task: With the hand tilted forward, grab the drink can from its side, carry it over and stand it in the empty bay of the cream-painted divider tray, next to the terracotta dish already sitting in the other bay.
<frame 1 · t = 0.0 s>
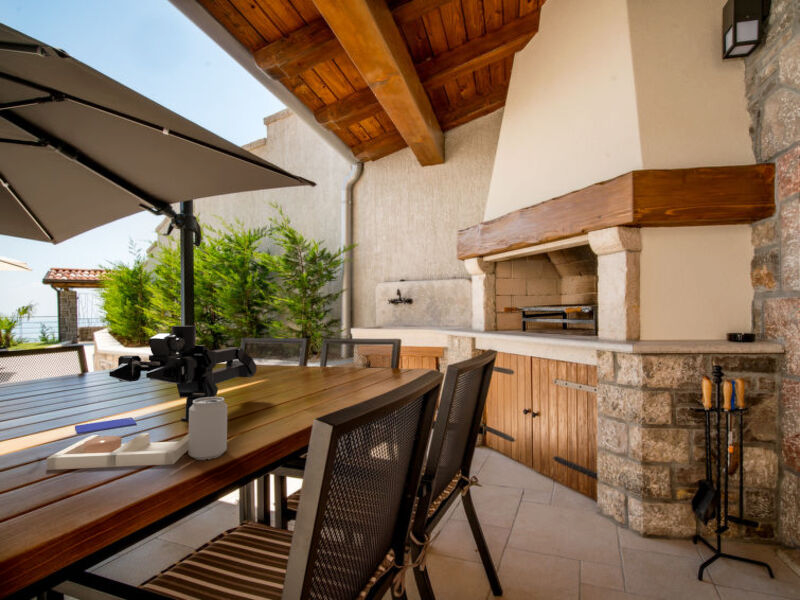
hand: (128, 374, 90), 17 cm above the table, tool horizontal, fingers open, 9 cm apart
divider tray: (129, 456, 85), on the table
terracotta dish: (102, 454, 85), resting on divider tray
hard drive: (105, 430, 105), on the table
can: (207, 455, 86), on the table
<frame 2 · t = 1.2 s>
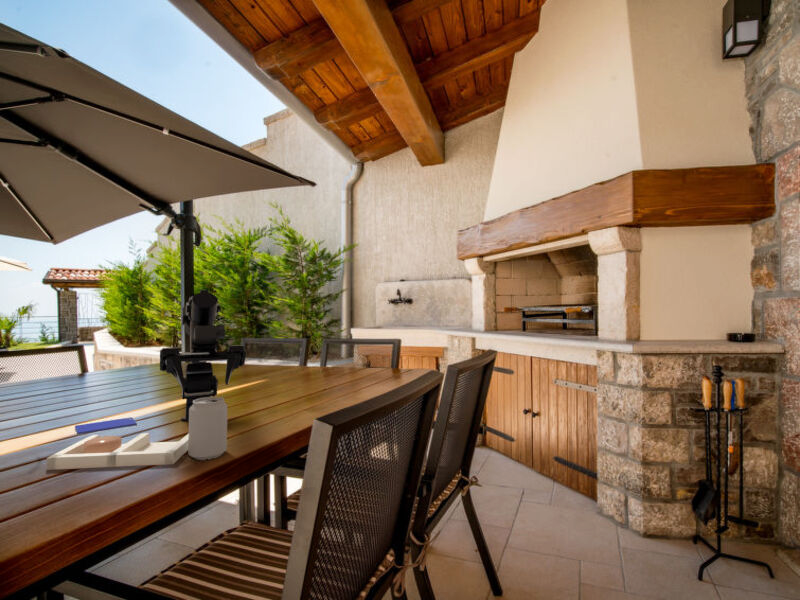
hand: (205, 385, 93), 13 cm above the table, tool tilted 45°, fingers open, 9 cm apart
nothing on the table moved.
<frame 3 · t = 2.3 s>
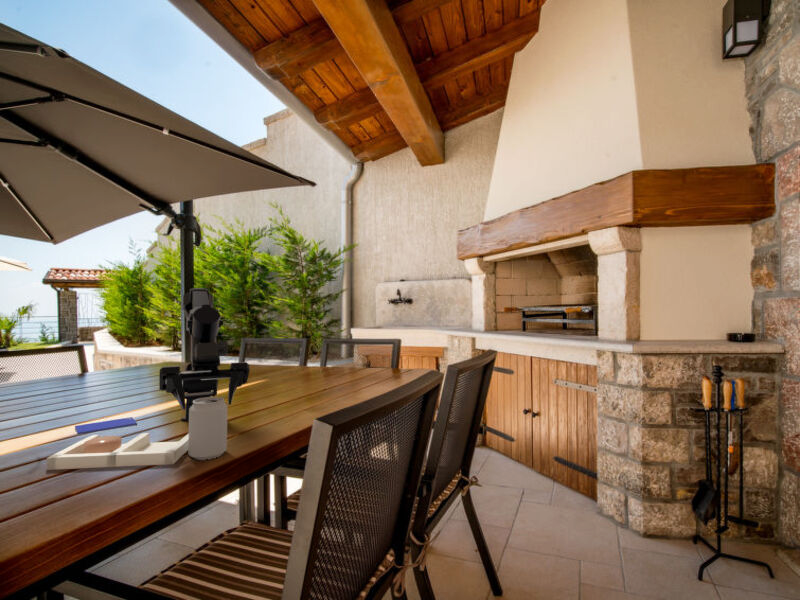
hand: (207, 406, 89), 10 cm above the table, tool tilted 45°, fingers open, 9 cm apart
nothing on the table moved.
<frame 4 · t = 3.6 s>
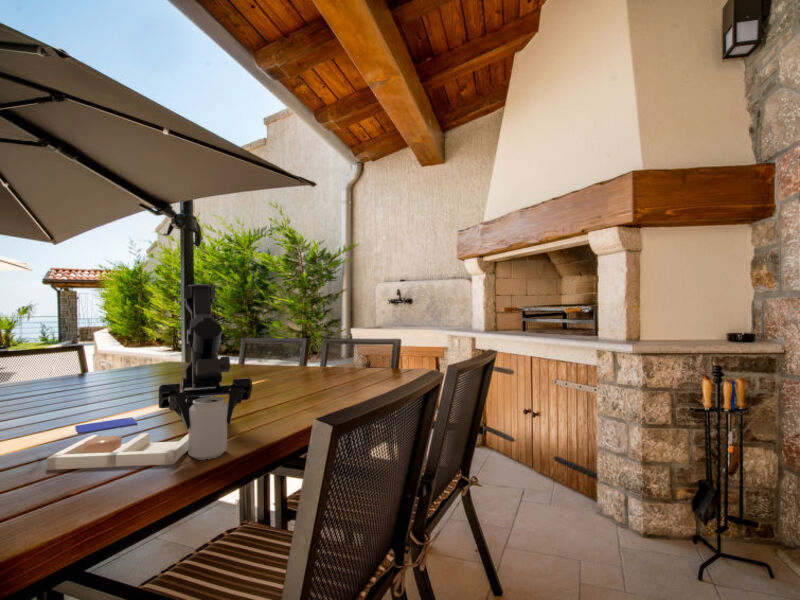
hand: (208, 425, 85), 7 cm above the table, tool tilted 45°, fingers closed on can, 7 cm apart
can: (207, 455, 86), on the table, touching gripper
everything else where it was.
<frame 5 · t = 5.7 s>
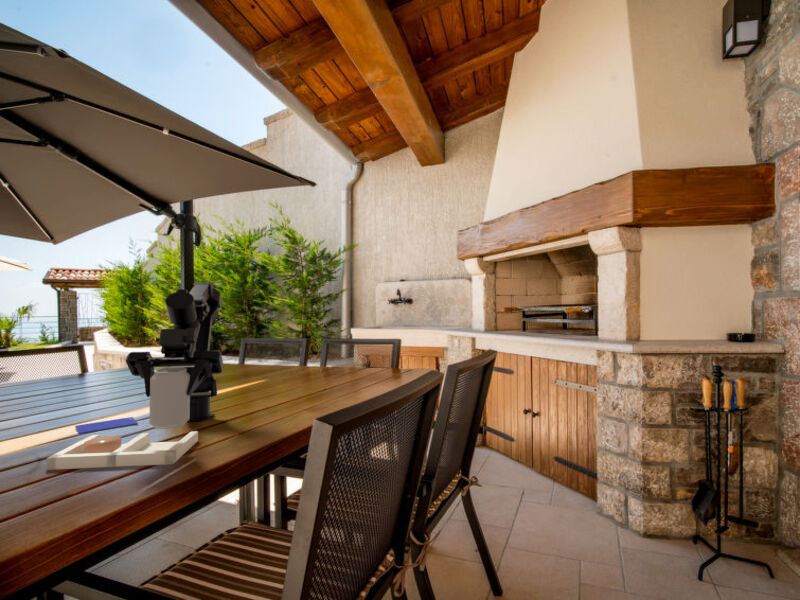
hand: (168, 395, 85), 13 cm above the table, tool tilted 45°, fingers closed on can, 7 cm apart
can: (169, 425, 86), point 6 cm above the table, touching gripper
everything else where it was.
when the fingers open (8 cm above the table, at t = 7.8 s): can stays where it is, resting on divider tray.
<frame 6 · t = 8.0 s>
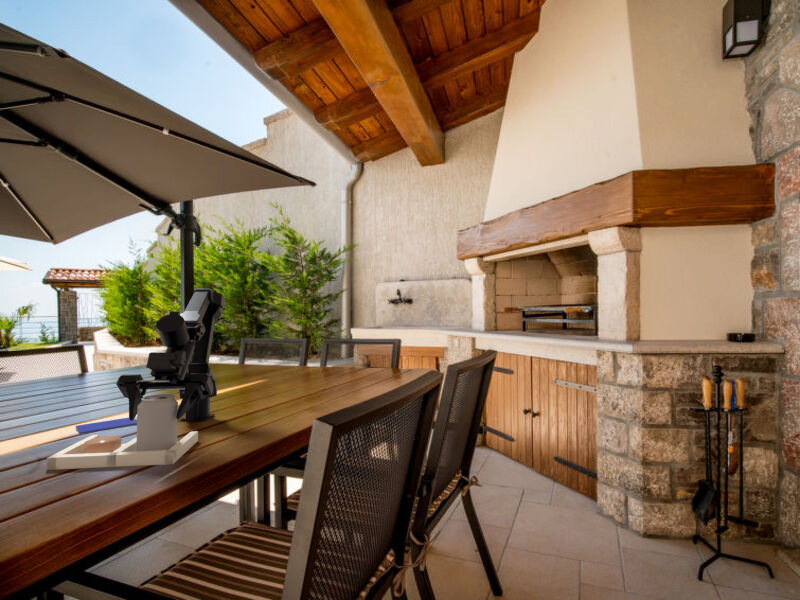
hand: (154, 419, 85), 8 cm above the table, tool tilted 45°, fingers open, 9 cm apart
can: (156, 453, 86), resting on divider tray
everything else where it was.
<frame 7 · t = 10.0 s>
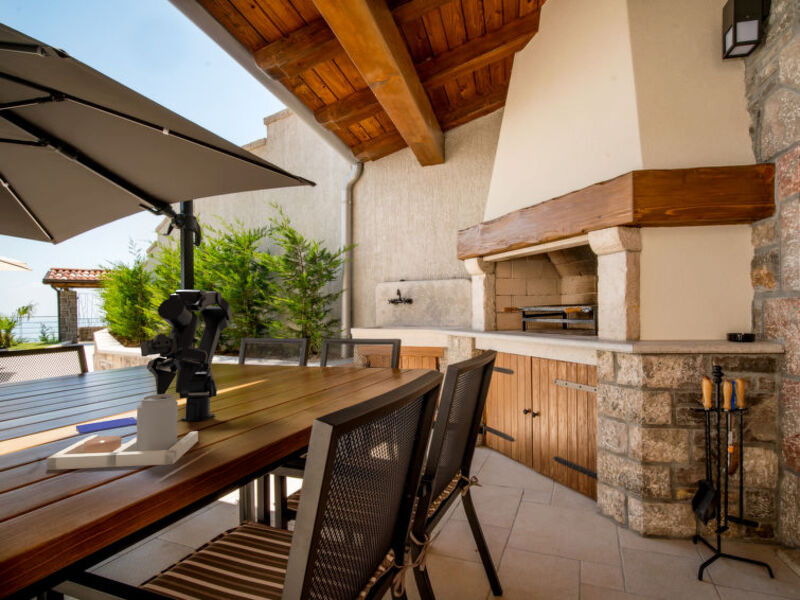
hand: (168, 395, 97), 10 cm above the table, tool tilted 25°, fingers open, 9 cm apart
nothing on the table moved.
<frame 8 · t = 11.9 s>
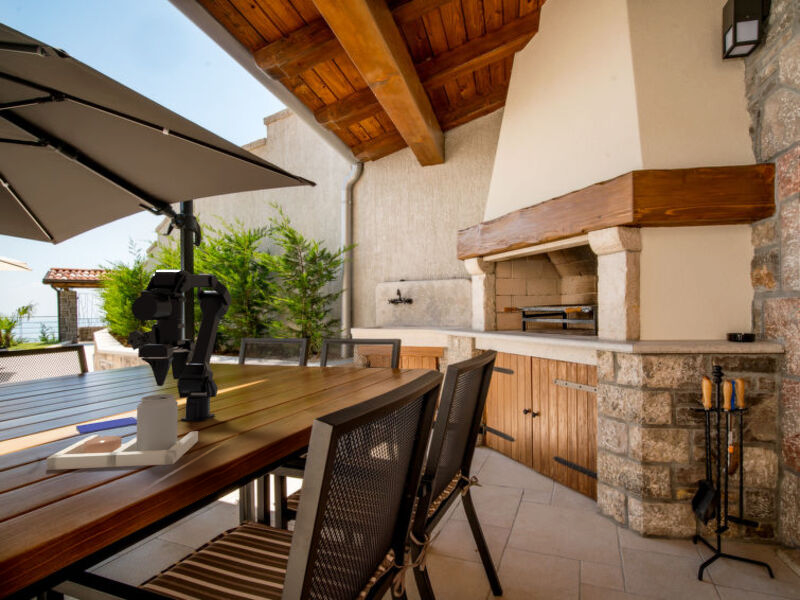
hand: (168, 382, 100), 13 cm above the table, tool pointing down, fingers open, 9 cm apart
nothing on the table moved.
at the end: can inside the target area (0.2 cm from its centre), resting on divider tray; can tilted 0°; the gripper is holding nothing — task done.
